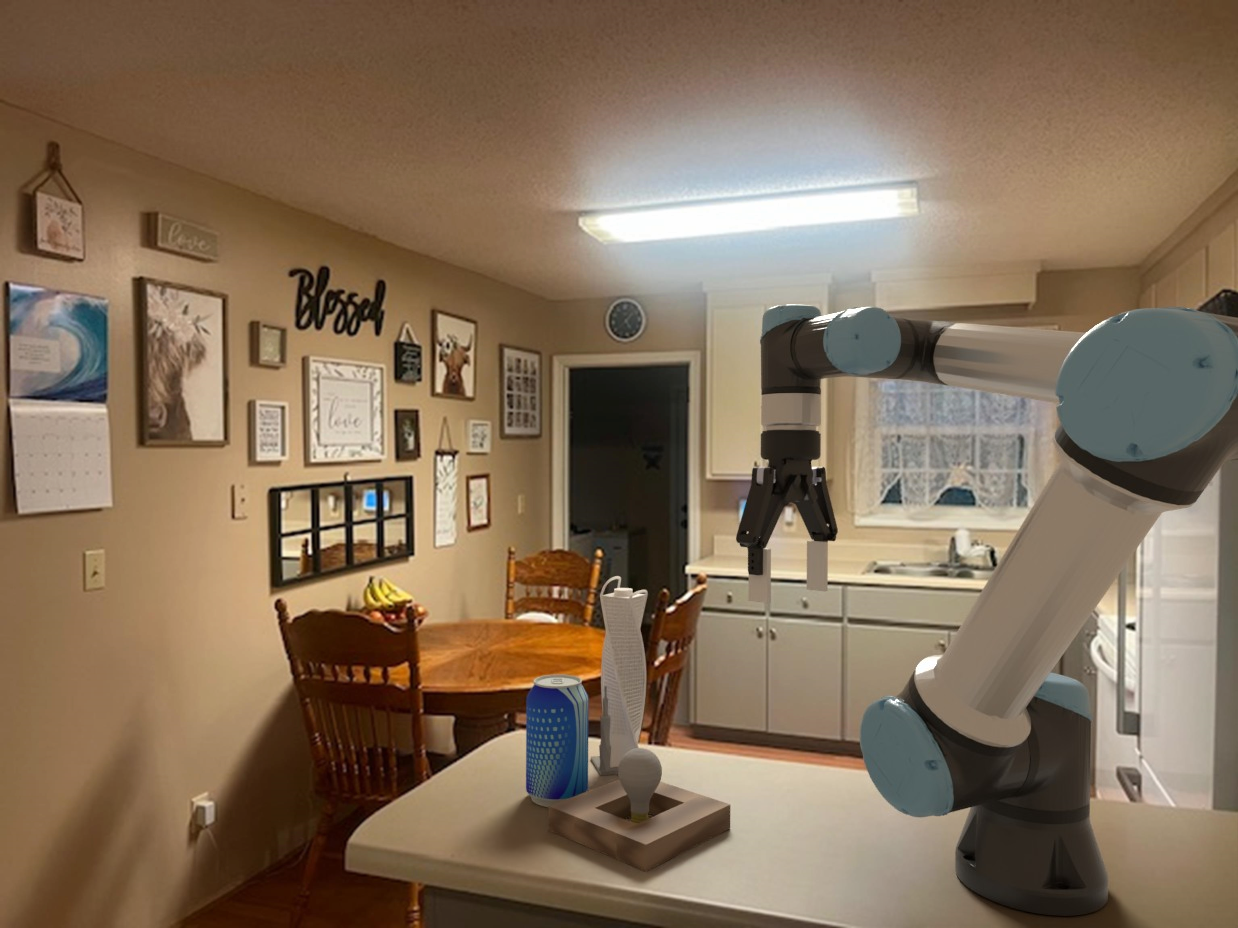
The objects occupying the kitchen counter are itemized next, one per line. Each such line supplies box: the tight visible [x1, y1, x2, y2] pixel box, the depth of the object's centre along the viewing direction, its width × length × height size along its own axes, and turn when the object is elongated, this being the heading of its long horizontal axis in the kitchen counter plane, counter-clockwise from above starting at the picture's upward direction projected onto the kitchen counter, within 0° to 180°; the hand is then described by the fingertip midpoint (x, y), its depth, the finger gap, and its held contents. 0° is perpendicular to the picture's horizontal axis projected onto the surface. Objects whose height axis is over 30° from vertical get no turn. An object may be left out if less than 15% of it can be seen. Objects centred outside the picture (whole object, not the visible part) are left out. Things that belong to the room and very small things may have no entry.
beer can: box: [525, 674, 590, 808], centre depth 120 cm, size 8×8×16 cm
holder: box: [548, 778, 731, 872], centre depth 110 cm, size 16×16×3 cm
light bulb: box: [617, 747, 663, 824], centre depth 110 cm, size 6×6×10 cm
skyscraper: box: [590, 575, 649, 776], centre depth 134 cm, size 8×8×28 cm
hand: (789, 595), depth 112 cm, fingers open, 13 cm apart
